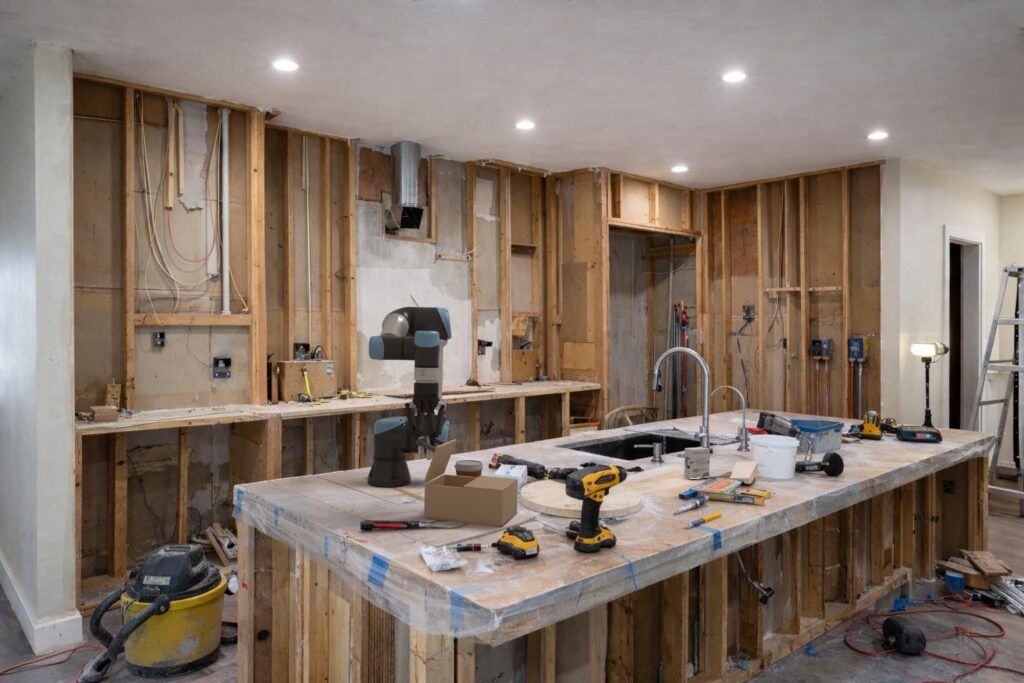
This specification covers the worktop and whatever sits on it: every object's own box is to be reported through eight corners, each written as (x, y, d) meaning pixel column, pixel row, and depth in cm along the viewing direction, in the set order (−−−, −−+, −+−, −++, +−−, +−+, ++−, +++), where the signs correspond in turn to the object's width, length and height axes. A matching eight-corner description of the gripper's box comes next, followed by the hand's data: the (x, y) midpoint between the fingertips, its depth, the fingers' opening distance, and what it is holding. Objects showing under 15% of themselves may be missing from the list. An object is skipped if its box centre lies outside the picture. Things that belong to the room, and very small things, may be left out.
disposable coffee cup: (488, 498, 226) (489, 461, 226) (472, 504, 218) (472, 466, 218) (464, 493, 231) (465, 458, 231) (447, 499, 223) (448, 462, 222)
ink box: (701, 476, 269) (702, 446, 268) (709, 479, 264) (710, 448, 264) (683, 477, 265) (684, 447, 265) (691, 480, 261) (692, 449, 260)
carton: (443, 506, 214) (444, 472, 214) (516, 513, 208) (517, 479, 207) (424, 518, 200) (424, 482, 200) (502, 527, 193) (503, 489, 193)
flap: (444, 473, 214) (422, 462, 216) (456, 439, 213) (434, 429, 215) (424, 483, 200) (401, 471, 202) (438, 447, 199) (414, 436, 201)
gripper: (398, 381, 206) (397, 459, 206) (445, 383, 202) (443, 462, 202) (408, 380, 213) (407, 455, 213) (454, 381, 209) (452, 458, 209)
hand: (425, 458), depth 208 cm, fingers closed on flap, 2 cm apart
